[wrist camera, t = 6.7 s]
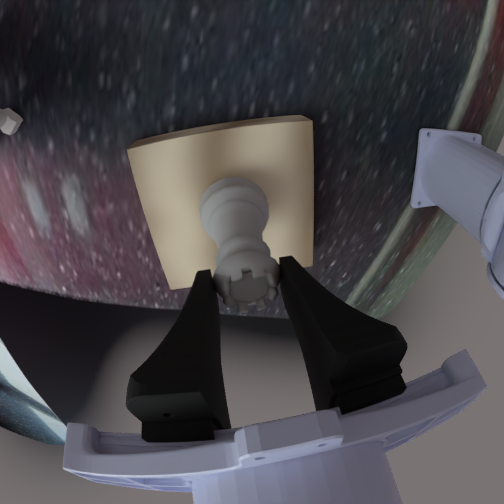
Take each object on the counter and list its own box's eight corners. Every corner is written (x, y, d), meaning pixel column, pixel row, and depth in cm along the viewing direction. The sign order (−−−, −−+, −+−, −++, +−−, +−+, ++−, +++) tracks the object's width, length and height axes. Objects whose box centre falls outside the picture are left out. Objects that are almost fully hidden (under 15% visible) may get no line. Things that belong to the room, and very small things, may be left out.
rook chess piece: (273, 220, 20) (306, 308, 14) (213, 240, 20) (221, 334, 14) (255, 164, 17) (289, 240, 11) (188, 187, 17) (181, 275, 11)
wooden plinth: (300, 114, 19) (312, 120, 17) (303, 248, 26) (312, 265, 24) (135, 140, 18) (126, 149, 16) (172, 270, 25) (170, 289, 23)
